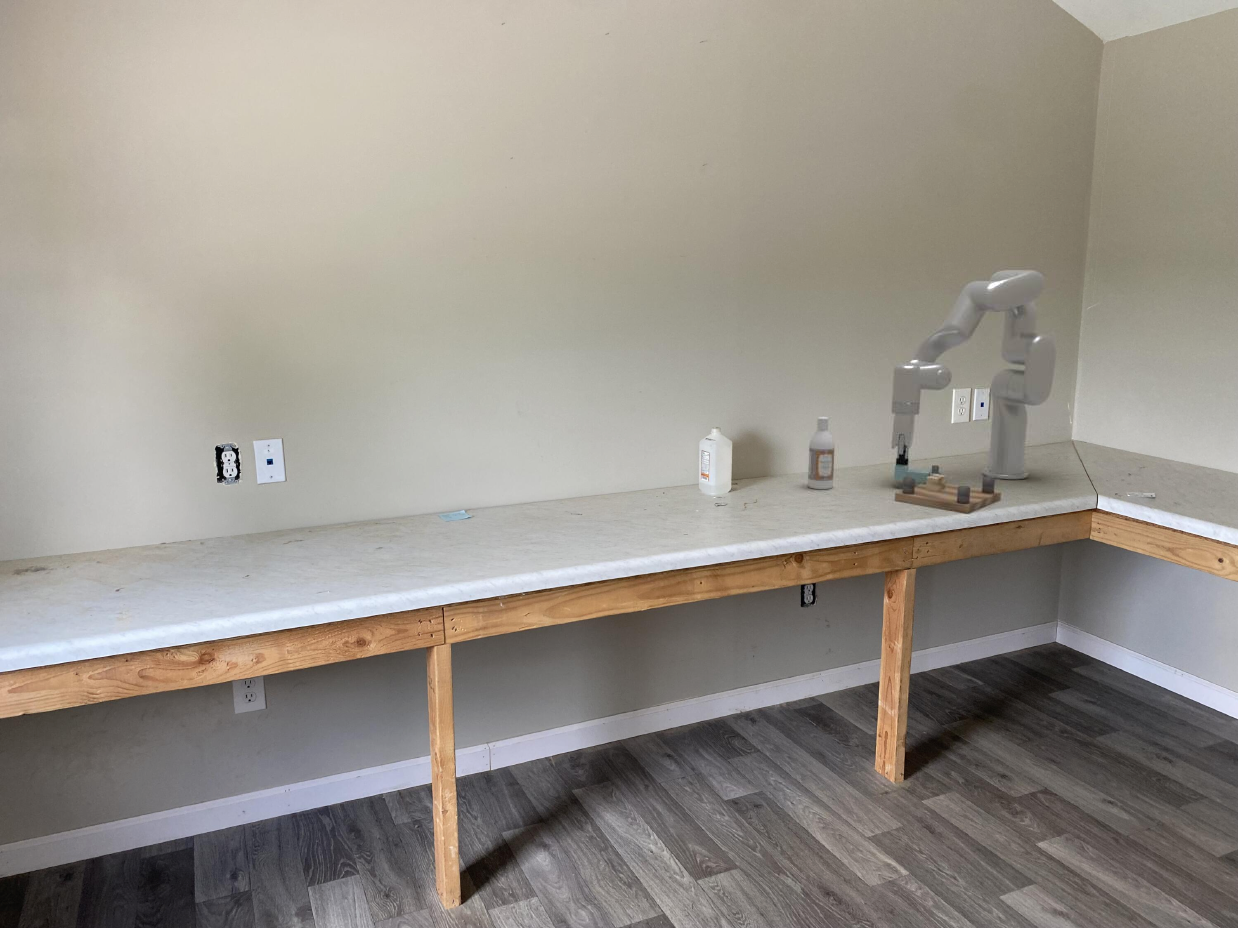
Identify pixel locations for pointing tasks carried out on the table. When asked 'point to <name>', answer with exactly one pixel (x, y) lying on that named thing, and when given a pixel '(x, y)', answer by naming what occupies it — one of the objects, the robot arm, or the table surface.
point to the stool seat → (948, 493)
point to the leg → (911, 474)
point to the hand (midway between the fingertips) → (901, 471)
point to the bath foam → (821, 457)
